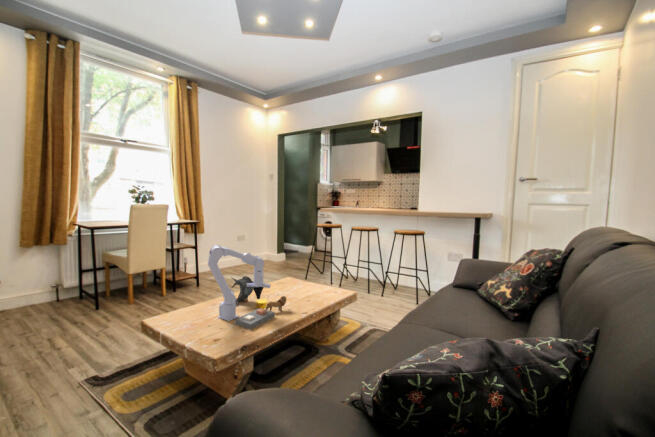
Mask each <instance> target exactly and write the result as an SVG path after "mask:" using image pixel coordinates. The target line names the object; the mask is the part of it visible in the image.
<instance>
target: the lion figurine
mask: <svg viewBox="0 0 655 437" xmlns="http://www.w3.org/2000/svg"><path fill="white" fill-rule="evenodd" d="M286 302H287V296H285V295H282V296H280V298H279V299H278V300H277V301H276V300H275V301H269V302H267V304H266V308H265V309H266V310H268V309H269V311H272V309H273V308H277V309H278V311H280V312H281V313H282V312H283V307H284V306H285V304H286Z"/></svg>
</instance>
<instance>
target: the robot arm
mask: <svg viewBox="0 0 655 437" xmlns="http://www.w3.org/2000/svg"><path fill="white" fill-rule="evenodd" d="M227 256H230V257H234V258H236V259H240V260H241V262H242V263H245V264H246V265H247V264H248V265H250V266H253V282H254V283H247V287H254V288H253V292H254V293H255V296H256V300H260V299H261V296H262V292H263V290H264V288H265V289H266V288H267V289H271V284H270V283H267V282H266V283H264V266H265V264H266V263H265V261H264V260H263V258H261V257H260V256H258V255H253V254H251V252H245V253H242V252H239V251H237V250H235V249H232V248H229V247H226V246H222V245H218V244H214V245H213V246H212V247H211V248H210V250H209V254H208V258H207V266H208V268H209V270H210V271H211V273H212V275H213V277H214V279H215V281H216V284H217V285H218V287H219V289H220V290H221V293H222V296H223V299H224V300H223V301H222V302H220V304H219V307H218V312H219V314H218V316H217V318H219V319H222V320H225V321H227V322H231V321H232V320H235V319H237V318H239V317H240V315H238V314H236V312H237V308H236V307H237V306H236V298H237V297H236V295H235V293H234V291H233V290H231V287H230V286H229V285H228V283H227V281H226V279H225V277H224V275H223V273H222V271H221V269H220V266H219V265H218V263H219V261H220V259H221V258H222V257H227Z"/></svg>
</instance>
